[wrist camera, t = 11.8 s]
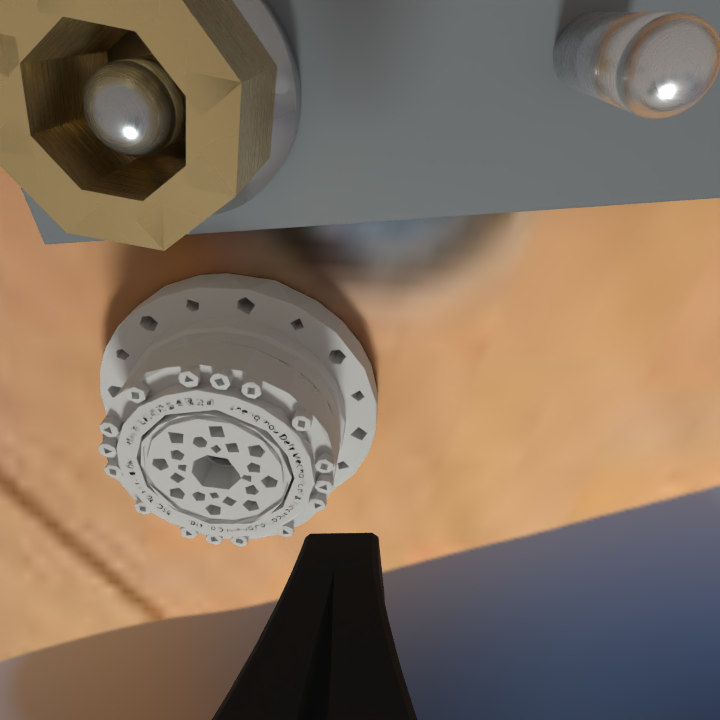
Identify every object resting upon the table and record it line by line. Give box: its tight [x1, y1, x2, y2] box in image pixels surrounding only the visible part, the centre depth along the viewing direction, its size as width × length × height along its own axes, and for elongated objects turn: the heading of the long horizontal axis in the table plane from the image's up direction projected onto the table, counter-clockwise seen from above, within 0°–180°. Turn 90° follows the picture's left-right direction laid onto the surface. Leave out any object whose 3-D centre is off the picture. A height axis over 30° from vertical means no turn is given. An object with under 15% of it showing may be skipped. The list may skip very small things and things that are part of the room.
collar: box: [0, 0, 278, 251], centre depth 12 cm, size 5×5×4 cm
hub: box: [83, 0, 302, 215], centre depth 12 cm, size 6×6×4 cm
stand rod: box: [553, 12, 720, 119], centre depth 11 cm, size 2×2×5 cm
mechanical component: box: [98, 273, 378, 547], centre depth 19 cm, size 10×4×10 cm
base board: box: [21, 0, 720, 244], centre depth 14 cm, size 20×8×1 cm, turn 95°
